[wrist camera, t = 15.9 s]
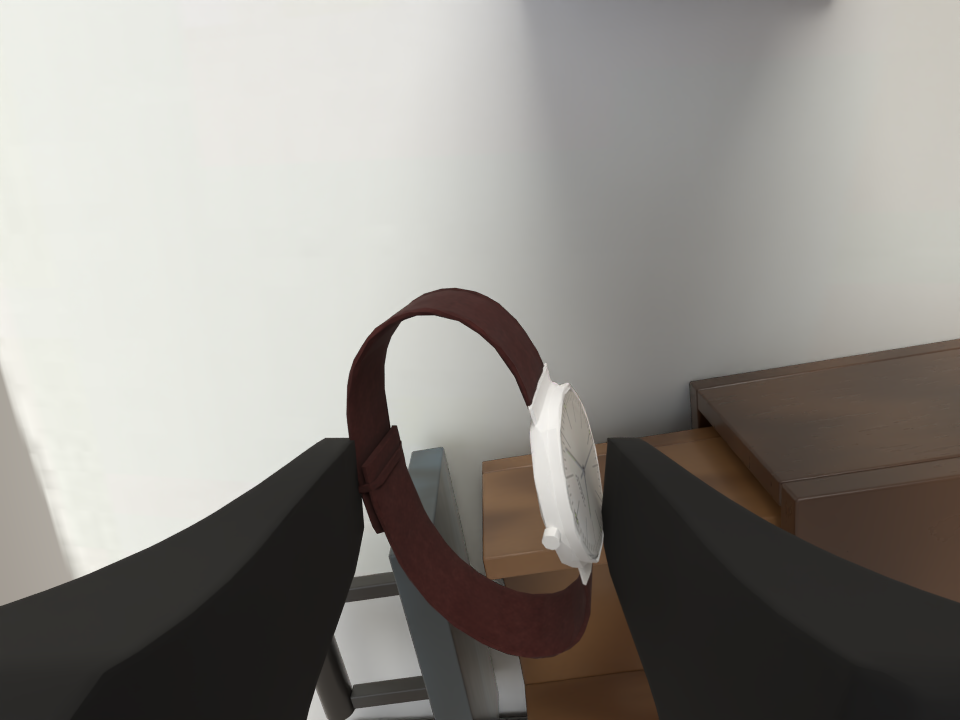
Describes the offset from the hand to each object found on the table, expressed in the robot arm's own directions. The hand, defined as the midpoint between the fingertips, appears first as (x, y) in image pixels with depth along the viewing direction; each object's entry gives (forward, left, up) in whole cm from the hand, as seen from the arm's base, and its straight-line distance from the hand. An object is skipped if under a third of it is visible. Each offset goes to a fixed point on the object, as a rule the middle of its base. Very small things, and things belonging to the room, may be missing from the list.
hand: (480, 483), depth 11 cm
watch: (0, 0, -2) cm, 2 cm away
